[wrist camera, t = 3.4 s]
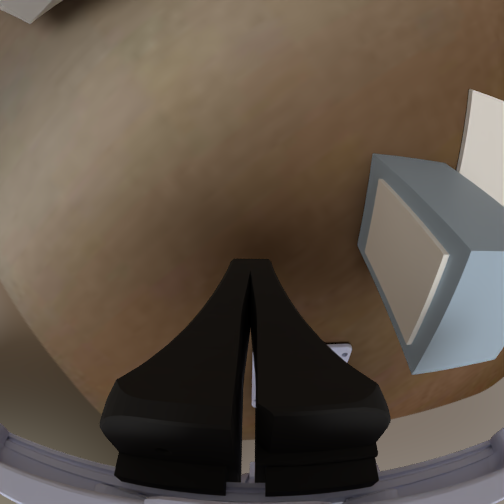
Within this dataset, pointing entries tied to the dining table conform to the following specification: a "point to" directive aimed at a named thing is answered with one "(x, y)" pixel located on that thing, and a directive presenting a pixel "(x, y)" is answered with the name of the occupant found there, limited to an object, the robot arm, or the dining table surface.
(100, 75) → the dining table surface
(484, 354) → the block
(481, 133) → the mat
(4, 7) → the die
